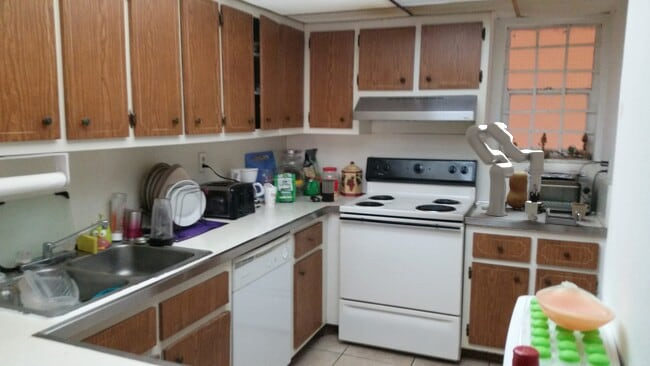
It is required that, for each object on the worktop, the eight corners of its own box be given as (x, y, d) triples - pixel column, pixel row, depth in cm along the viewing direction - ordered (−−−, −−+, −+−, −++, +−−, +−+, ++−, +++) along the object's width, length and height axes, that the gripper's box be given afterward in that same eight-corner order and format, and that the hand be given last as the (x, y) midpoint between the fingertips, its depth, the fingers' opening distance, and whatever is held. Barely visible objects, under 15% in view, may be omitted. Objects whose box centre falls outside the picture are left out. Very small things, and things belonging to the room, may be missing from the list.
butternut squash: (501, 207, 342) (503, 170, 339) (518, 207, 346) (520, 170, 343) (515, 211, 329) (518, 172, 326) (532, 210, 333) (535, 172, 330)
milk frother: (337, 201, 359) (337, 180, 357) (323, 203, 347) (323, 182, 345) (321, 198, 368) (321, 178, 366) (307, 201, 356) (307, 180, 354)
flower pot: (589, 220, 303) (590, 206, 302) (572, 219, 305) (573, 205, 304) (584, 217, 312) (585, 203, 311) (567, 216, 314) (568, 202, 313)
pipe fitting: (545, 222, 295) (545, 210, 294) (546, 219, 303) (547, 208, 302) (579, 226, 286) (580, 213, 285) (580, 223, 295) (581, 211, 294)
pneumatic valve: (539, 222, 294) (541, 202, 293) (520, 219, 303) (522, 199, 302) (544, 221, 298) (546, 201, 296) (525, 218, 307) (527, 198, 305)
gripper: (531, 170, 306) (530, 199, 308) (527, 172, 291) (526, 202, 293) (545, 171, 302) (544, 199, 304) (541, 173, 287) (540, 203, 289)
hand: (535, 201), depth 298 cm, fingers open, 9 cm apart
